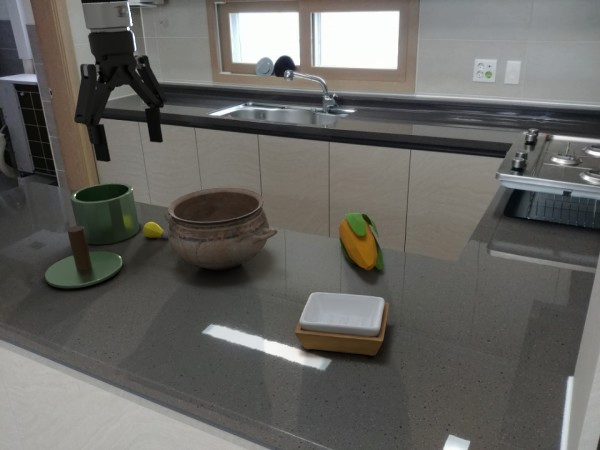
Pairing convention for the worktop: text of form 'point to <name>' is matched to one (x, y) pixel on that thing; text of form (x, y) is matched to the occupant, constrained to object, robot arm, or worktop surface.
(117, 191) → the tin
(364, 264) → the corn
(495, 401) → the worktop surface
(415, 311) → the worktop surface
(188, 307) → the worktop surface
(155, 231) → the light bulb
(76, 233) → the tin lid
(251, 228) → the cooking pot
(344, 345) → the soap dish
